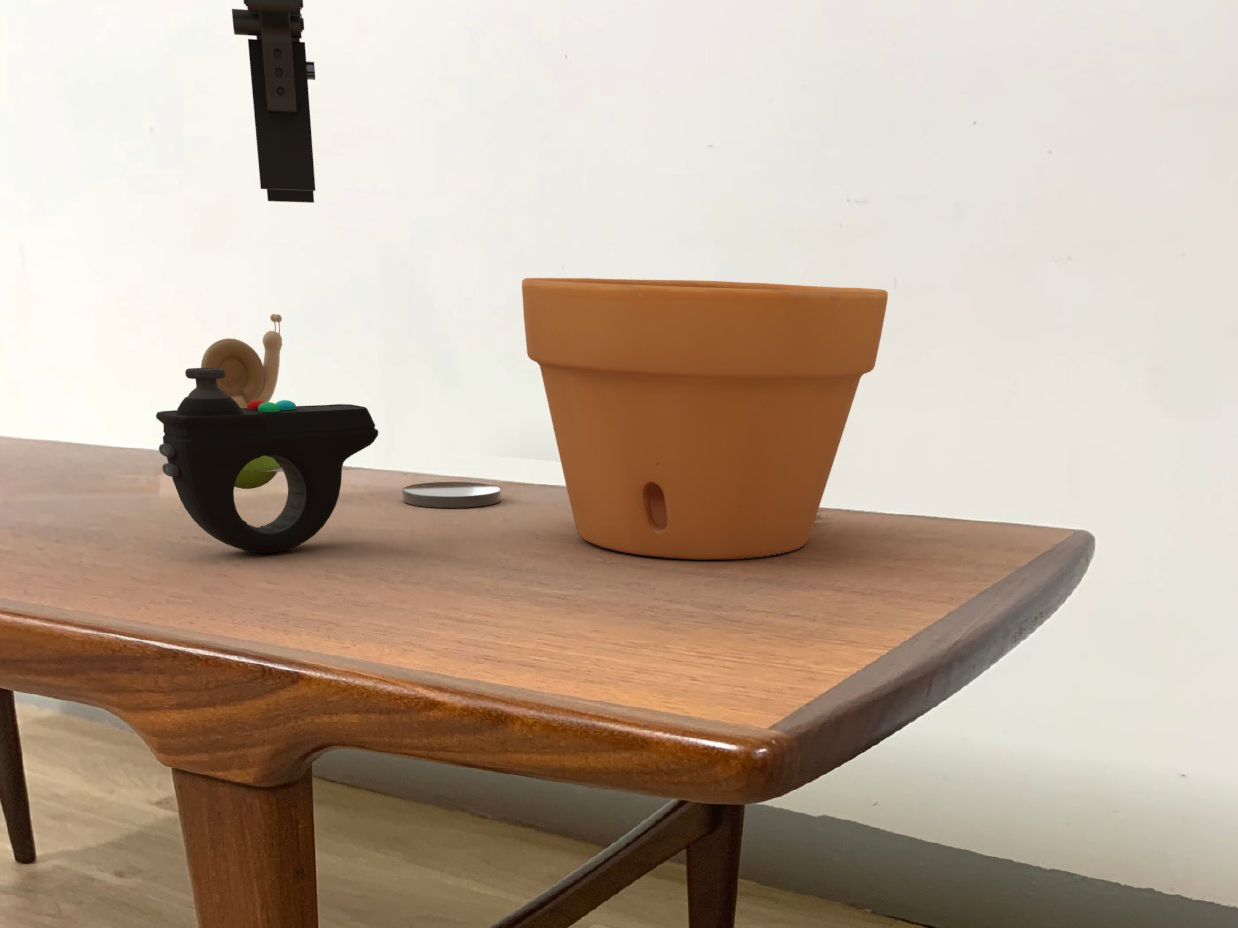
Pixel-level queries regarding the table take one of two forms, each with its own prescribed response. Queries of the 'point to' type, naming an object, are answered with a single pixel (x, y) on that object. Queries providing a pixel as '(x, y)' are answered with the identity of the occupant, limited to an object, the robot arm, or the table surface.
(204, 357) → the snail figurine
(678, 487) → the flower pot
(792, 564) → the table surface
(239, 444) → the controller
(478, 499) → the slate coaster
